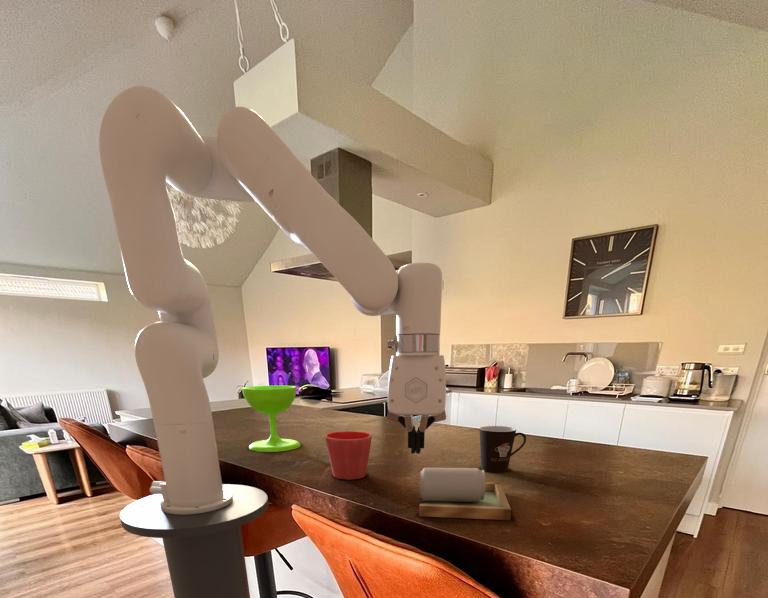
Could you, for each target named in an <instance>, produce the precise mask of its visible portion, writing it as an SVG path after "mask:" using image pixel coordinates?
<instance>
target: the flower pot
mask: <svg viewBox="0 0 768 598" xmlns="http://www.w3.org/2000/svg"><path fill="white" fill-rule="evenodd" d="M324 438H325V443H326V449H327V454H328V459H329V463H330V468H331V471H332V475H333V477H334V478H336V479H339V480H348V481H349V480H351V481H352V480H358V479H362V478H364V477H366V474H367V471H368V470H367V469H368V465H369V464H368V463H369V459H370V458H369V457H370V450H371V446H372V445H371V444H372V434H371V433H370V432H365V431H356V430H355V431H354V430H349V431H348V430H347V431H333V432H328V433H326V434H325V436H324Z"/></svg>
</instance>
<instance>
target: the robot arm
mask: <svg viewBox="0 0 768 598" xmlns="http://www.w3.org/2000/svg"><path fill="white" fill-rule="evenodd" d="M98 144H99V147H98V148H99V158H100V163H101V169H102V174H103V178H104V182H105V186H106V190H107V194H108V198H109V203H110V206H111V210H112V215H113V220H114V226H115V227H114V228H115V231H116V236H117V241H118V245H119V249H120V255H121V258H122V263H123V269H124V273H125V278H126V283H127V285H128V288H129V291H130V293H131V295H132V297H133V298H134V299H135V301H136V302H138V303H139V304H140V305H142V306H143V307H145V308H147V309H148V310H151V311H153V312H158V315H159V319H160V321H155V322H151V323H149V324H147V325H146V326H144V327H143V328H142V329H141V330H140V331H139V332H138V334H137V337H136V339H135V344H134V358H135V362H136V365H137V368H138V372H139V375H140V377H141V379H142V382H143V385H144V388H145V391H146V395H147V398H148V402H149V408H150V412H151V416H152V422H153V425H154V431H155V436H156V441H157V447H158V451H159V457H160V462H161V467H162V471H163V478H164V481H163V480H153V481H152V482H151V486H150V488H149V493H150V495H153V494H162V495H163V500H162V501H161V502H160V507H161V510H162V511H164V512H166V513H169V514H175V515H190V514H200V513H206V512H210V511H214V510H218V509H221V508H223V507H225V506H227V505H229V504H230V503H231V502H232V500H233V497H232V493H230V492H229V491H226V490H223V487H222V484H223V481H222V475H221V468H220V461H219V453H218V446H217V440H216V433H215V425H214V419H213V414H212V407H211V402H210V398H209V394H208V391H207V387H206V383H205V381H204V379H206V378H208V377H209V376H210V375H211V374H213V373H214V372H215V369H216V368H217V366H218V363H219V359H220V357H219V355H220V354H219V344H218V343H219V342H218V337H217V331H216V326H215V319H214V313H213V306H212V301H211V296H210V291H209V288H208V284H207V283H206V280H205V278H204V276H203V275H202V273H201V271H200V270H199V269H198V268H197V267H196V266H195V265H194V264H193V263H192V262H190V261H189V260H187V259H185V257H184V255H183V251H182V245H181V242H180V237H179V232H178V224H177V218H176V215H175V210H174V207H173V205H172V201H171V197H170V194H169V192H168V187H167V183H168V184H169V185H170V186H172V188H173V189H175V190H176V191H178V192H180V193H181V194H183V195H186V196H188V197H192V198H195V199H196V198H197V199H206V200H218V201H219V200H220V201H231V202H245V203H246V202H247V203H248V202H249V203H257V204H258V205H259V206H260V207H261V208H262V210H264V212H265V213H266V214H267V215H268V216H269V217H270V218H271V219H272V221H273V222H274V223H275V224H276V225H277V226H278V227H279V228H280V230H282V232H283V233H284V234H285V235H286V236H287V237H288V238H289V239H290V240H291V241H292V242H294V244H295V245H298V246H299V247H302V248H303V249H305V250H306V251H308V252H309V253H310V254H311V255H313V257H315V258H316V259H317V261H318V262H319V263H321V264H322V265H323V267H325V268H326V270H327V271H328V272H329V273H330V274H331V275H332V276H333V277H334V279H335V280H336V281H337V282H338V283H339V284H340V285H341V286H342V288H343V289H344V290H345V291H346V292H347V293H348V294H349V296H350V299H351V303H352V304H353V307H355V309H356V310H357V311H358V312H359V313H361V314H362V315H365V316H368V317H378V316H384V315H392V314H395V315H396V316H395V337H394V338H392V339H388V340H387V349H392V350H394V351H395V355H391V357H390V362H389V369H388V383H387V416H386V419H387V420H389V421H394V422H397V423H399V424H401V426H402V427H403V428H404V429H405V430H406V431H407V449H410V452H411V453H410V454H418V455H419V454H421V449H425V432H426V430H427V429H429V428H430V427H431V425H432V424H434V423H439V422H442V421H445V420H446V419H447V412H446V404H447V403H446V401H447V375H446V373H447V372H446V362H445V356H444V354H443V355H442V354H441V353H440V349H441V321H442V293H443V273H442V272H443V271H442V269H441V268H440V266H438V265H437V264H434V263H432V262H411V263H407V264H404V265H401V266H400V267H399V268H398V269H396V268H395V266H394V265H393V263H392V261H391V259H389V257H388V256H387V255H386V253H385V252H384V251H383V250H382V248H381V247H380V246H379V245H378V244H377V243H376V242H375V240H373V238H372V237H371V236H370V235H369V234H368V232H367V231H366V230H365V229H364V227H363V226H362V225H361V224H360V223H359V222H358V221H357V220H356V219H355V218H354V217H353V216H352V215H351V214H350V213H349V212H348V211H347V210H346V209H345V208H344V207H342V206H341V205H340V203H338V201H337V200H336V199H335V198H334V197H333V196H332V195H330V193H328V191H326V189H325V188H324V187H323V186H322V185H321V184H320V183H319V182H318V181H317V179H316V178H315V177H314V176H313V175H312V173H311V172H310V171H309V170H308V169H307V168H306V167H305V166H304V164H303V163H302V162H301V161H300V160H299V158H298V157H297V156H296V155H295V153H294V152H293V151H292V149H290V148H289V146H288V145H287V144H286V143H285V142H284V140H283V139H282V138H281V137H280V136H279V134H278V133H277V132H276V131H275V129H273V128H272V127H271V125H270V124H269V123H268V122H267V121H266V120H265V119H264V118H263V117H262V116H261V115H259V113H257V112H256V111H255V110H253V109H251V108H248V107H245V106H235V107H232V108H229V109H228V110H226V111H225V112H224V114H222V116H221V117H220V120H219V121H218V124H217V129H216V137H215V136H203V135H200V134H199V132H198V131H197V130H196V128H195V127H194V126H193V124H192V123H191V122H190V120H189V119H188V117H187V116H186V115H185V113H184V112H183V110H181V108H179V106H178V105H176V104H175V103H174V101H173V100H172V99H170V98H169V97H168V96H166V95H165V94H163V93H162V92H160V91H158V90H156V89H155V88H152V87H149V86H145V85H135V86H131V87H128V88H126V89H124V90H122V91H121V92H120V93H118V94H117V95H116V96H115V97H114V98H113V99H112V101H111V102H110V103H109V104H108V106H107V108H106V110H105V112H104V114H103V117H102V120H101V124H100V129H99V138H98ZM440 354H441V355H440ZM414 416H420V421H419V425H418V427H417V430H416V426H415V424H414V418H413V417H414Z"/></svg>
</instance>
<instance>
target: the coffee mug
mask: <svg viewBox="0 0 768 598" xmlns="http://www.w3.org/2000/svg"><path fill="white" fill-rule="evenodd" d="M519 435H520V436H522V437H523V441H522V443H521V445H520V446H518V447H517V448H516V449H514V450H513V448H514V442H515V439H516V437H517V436H519ZM526 442H527V436H526V435H525V434H524V433H523V432H519V431H518V432H517V428H515V427H512V426H505V425H503V426H502V425H501V426H500V425H487V426H481V427H479V446H480V448H479V449H480V450H479V453H480V470H481V471H482V470H484V471H485V472H486V473H487V472H489V473H505V472H508V470H509V465H510V460H511V457H512V456H514V455H515V454H516V453H518V452H519V451H520V450H521V449H522V448H524V446H525V444H526Z"/></svg>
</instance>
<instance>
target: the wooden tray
mask: <svg viewBox="0 0 768 598" xmlns="http://www.w3.org/2000/svg"><path fill="white" fill-rule="evenodd" d="M418 512H419V513H418V514H419V517H428V518H447V519H448V518H450V519H451V518H452V519H473V520H474V519H475V520H497V521H511V518H512V517H511V516H512V508H511V506H510V503H509V501H508V499H507V496H506V493H505V491H504V489H503V486H502V484H501V482H498V481H497V482H495V481H485V494H484V499H483V500H479V501H477V502H451V501H423V503H419V511H418Z"/></svg>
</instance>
